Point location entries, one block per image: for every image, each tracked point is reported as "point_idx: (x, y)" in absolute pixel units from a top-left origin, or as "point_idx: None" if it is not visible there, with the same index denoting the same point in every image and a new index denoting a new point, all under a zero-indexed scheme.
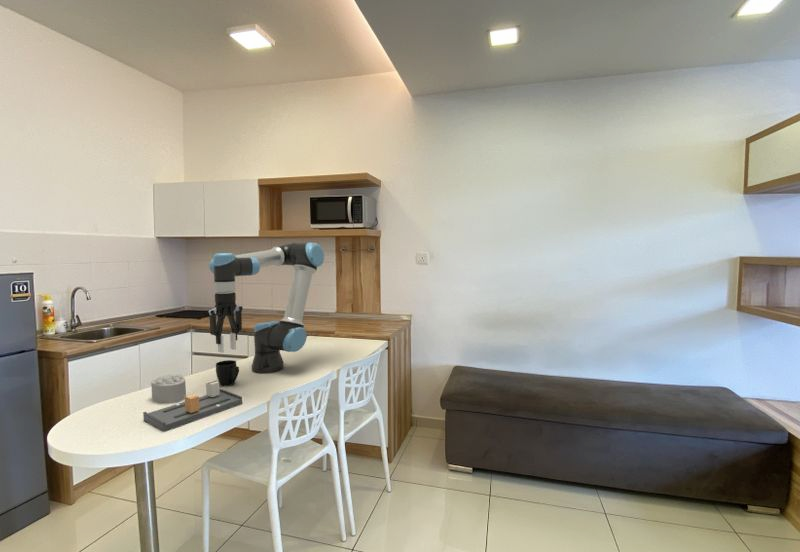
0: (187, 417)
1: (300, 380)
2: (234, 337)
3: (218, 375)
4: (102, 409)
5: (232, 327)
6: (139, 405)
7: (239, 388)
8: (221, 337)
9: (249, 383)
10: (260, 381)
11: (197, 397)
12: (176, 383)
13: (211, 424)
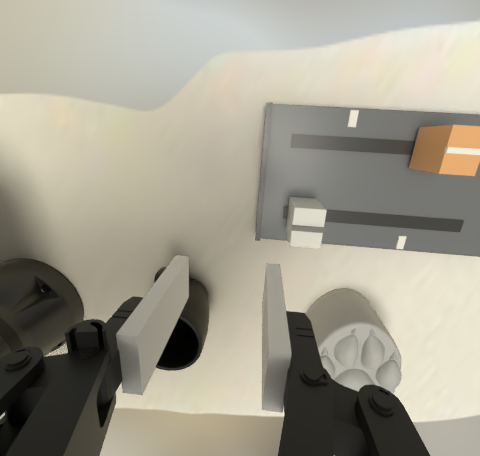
0: (472, 114)
1: (12, 116)
2: (148, 308)
3: (208, 316)
4: (461, 392)
5: (89, 435)
6: (408, 347)
7: (187, 233)
8: (289, 342)
9: (144, 243)
10: (112, 229)
11: (457, 125)
12: (366, 330)
13: (437, 31)
